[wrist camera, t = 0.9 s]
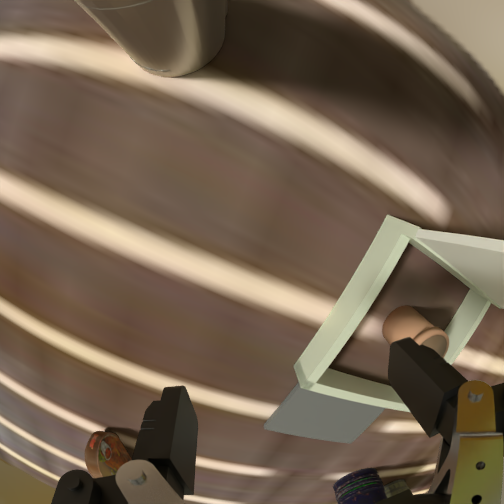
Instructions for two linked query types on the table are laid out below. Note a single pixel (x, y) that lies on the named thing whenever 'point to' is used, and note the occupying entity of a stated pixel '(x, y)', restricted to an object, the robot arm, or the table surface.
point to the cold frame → (370, 284)
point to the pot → (414, 329)
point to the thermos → (395, 487)
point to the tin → (105, 454)
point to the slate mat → (321, 416)
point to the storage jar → (360, 488)
